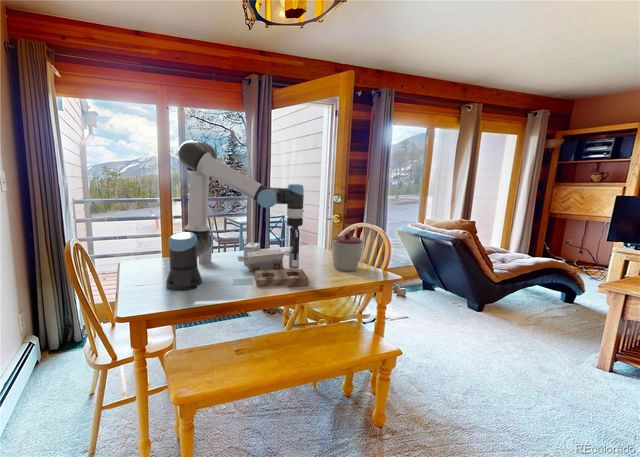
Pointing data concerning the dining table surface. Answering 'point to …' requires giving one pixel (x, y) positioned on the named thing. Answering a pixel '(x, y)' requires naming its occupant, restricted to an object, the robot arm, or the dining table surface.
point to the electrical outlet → (264, 260)
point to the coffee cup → (206, 256)
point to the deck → (242, 281)
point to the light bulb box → (251, 249)
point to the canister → (346, 252)
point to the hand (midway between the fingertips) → (293, 264)
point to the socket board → (281, 278)
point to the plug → (291, 259)
